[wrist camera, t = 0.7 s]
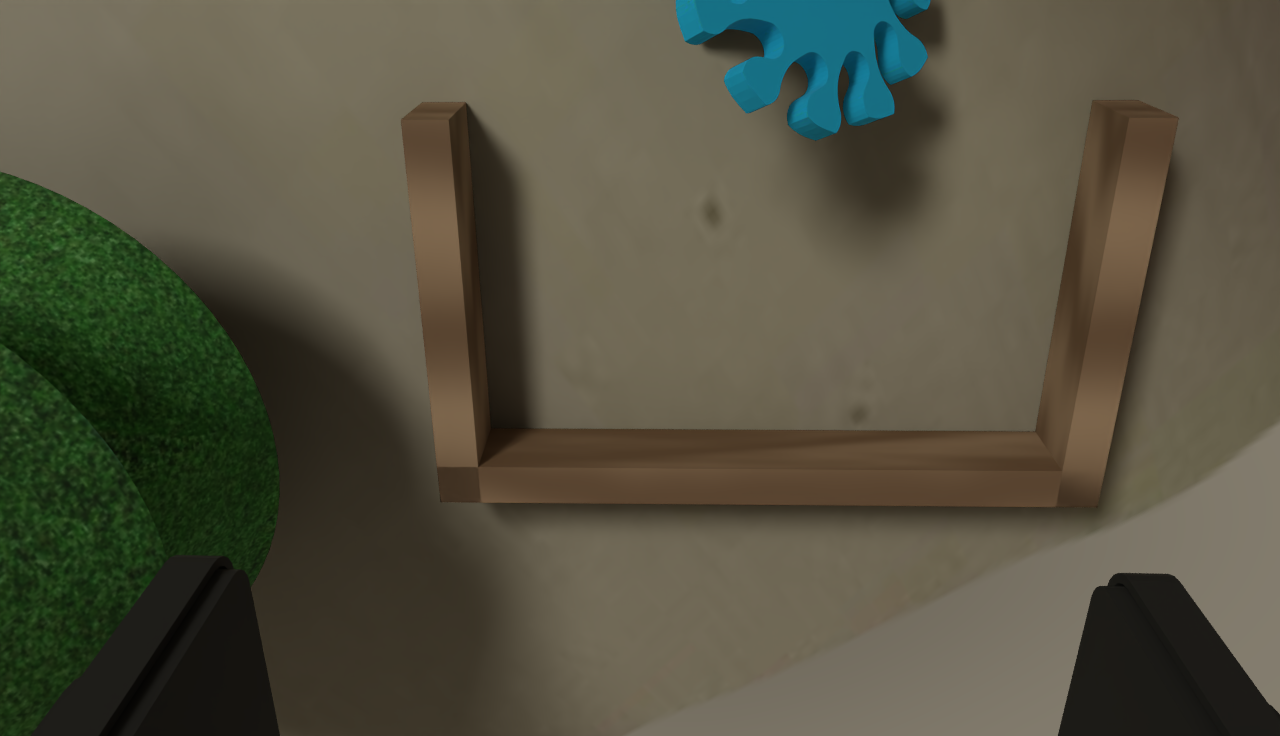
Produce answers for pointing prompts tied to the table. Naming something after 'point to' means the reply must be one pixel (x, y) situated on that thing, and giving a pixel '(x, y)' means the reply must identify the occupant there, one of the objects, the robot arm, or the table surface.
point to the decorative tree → (109, 441)
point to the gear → (815, 54)
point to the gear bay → (798, 459)
